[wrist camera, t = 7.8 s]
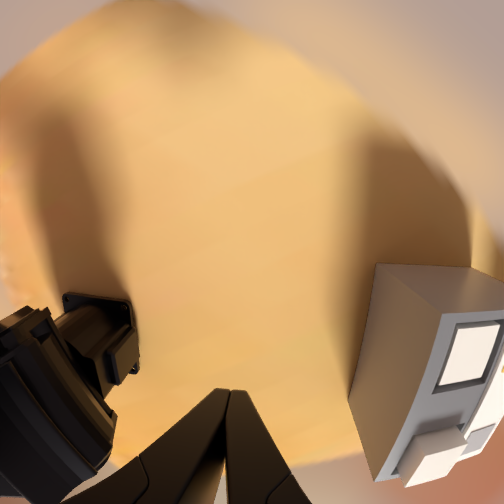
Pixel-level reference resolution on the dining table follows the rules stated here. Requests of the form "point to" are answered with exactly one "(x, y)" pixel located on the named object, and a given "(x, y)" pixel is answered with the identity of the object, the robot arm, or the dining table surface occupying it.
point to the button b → (468, 351)
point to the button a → (430, 455)
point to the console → (417, 356)
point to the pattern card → (486, 412)
